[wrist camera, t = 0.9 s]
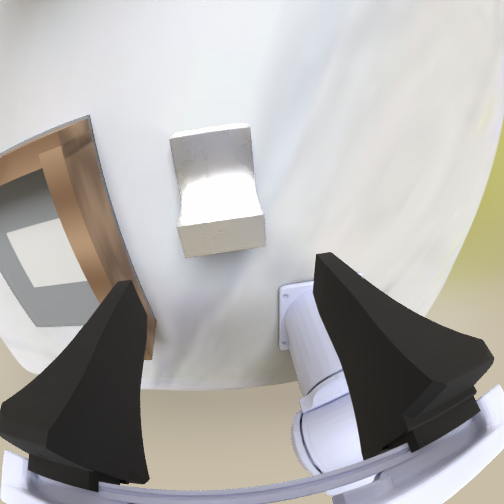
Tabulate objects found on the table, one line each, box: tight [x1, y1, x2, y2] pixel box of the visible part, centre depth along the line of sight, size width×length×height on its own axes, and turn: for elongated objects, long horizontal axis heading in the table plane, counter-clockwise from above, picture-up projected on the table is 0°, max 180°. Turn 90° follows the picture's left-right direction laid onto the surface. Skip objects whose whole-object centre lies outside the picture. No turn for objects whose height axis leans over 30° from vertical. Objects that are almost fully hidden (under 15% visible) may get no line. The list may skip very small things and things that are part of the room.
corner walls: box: [0, 119, 156, 360], centre depth 17 cm, size 18×15×4 cm
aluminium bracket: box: [170, 122, 266, 258], centre depth 15 cm, size 6×4×5 cm
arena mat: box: [0, 115, 154, 327], centre depth 18 cm, size 18×15×1 cm
